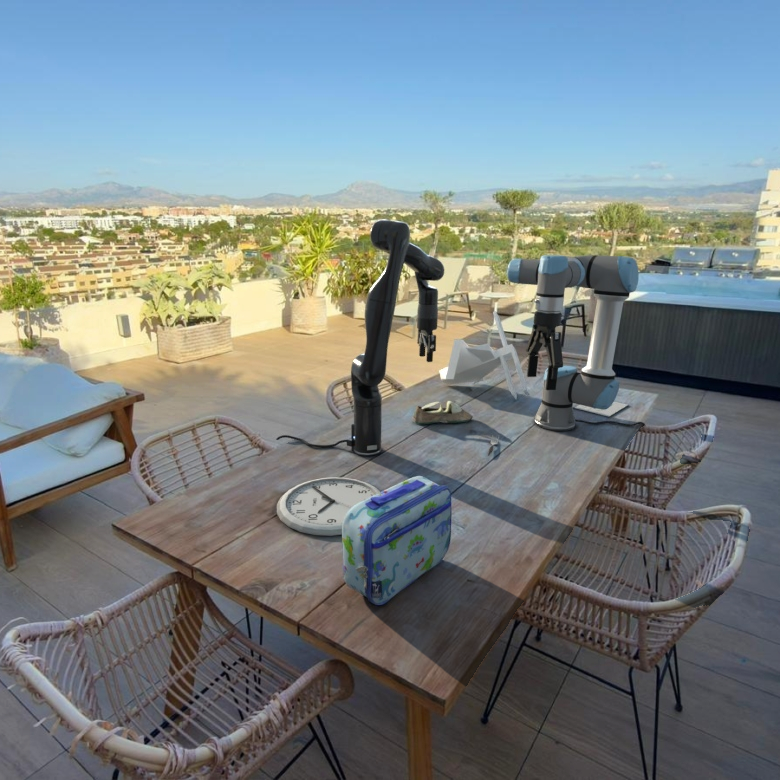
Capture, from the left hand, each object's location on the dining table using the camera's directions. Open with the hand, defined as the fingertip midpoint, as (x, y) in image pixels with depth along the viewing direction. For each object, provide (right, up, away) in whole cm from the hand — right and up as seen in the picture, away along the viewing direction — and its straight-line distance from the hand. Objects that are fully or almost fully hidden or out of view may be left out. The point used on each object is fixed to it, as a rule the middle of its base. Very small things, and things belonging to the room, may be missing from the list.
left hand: (425, 359), depth 197 cm
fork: (+22, -32, -15) cm, 42 cm away
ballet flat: (+8, -24, +9) cm, 27 cm away
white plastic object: (+28, -13, +46) cm, 56 cm away
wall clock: (-29, -43, -54) cm, 75 cm away
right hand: (+31, -10, -42) cm, 53 cm away
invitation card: (+78, -19, +29) cm, 86 cm away
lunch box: (-12, -53, -83) cm, 99 cm away
